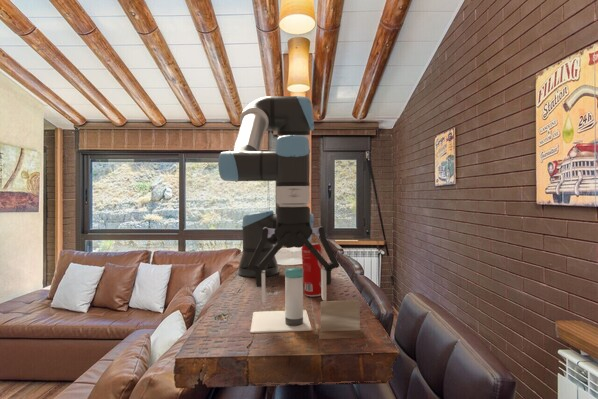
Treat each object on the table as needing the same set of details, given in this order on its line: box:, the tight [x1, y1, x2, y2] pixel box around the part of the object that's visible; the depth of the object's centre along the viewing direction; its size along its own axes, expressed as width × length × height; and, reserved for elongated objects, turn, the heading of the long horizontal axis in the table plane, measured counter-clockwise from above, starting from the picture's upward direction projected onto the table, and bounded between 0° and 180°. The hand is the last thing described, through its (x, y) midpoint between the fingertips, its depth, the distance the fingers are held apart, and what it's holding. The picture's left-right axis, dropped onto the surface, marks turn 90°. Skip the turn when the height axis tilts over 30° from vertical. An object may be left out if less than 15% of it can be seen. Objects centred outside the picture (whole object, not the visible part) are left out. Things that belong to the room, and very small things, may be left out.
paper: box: [250, 309, 313, 334], centre depth 75 cm, size 12×13×1 cm
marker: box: [284, 266, 304, 326], centre depth 74 cm, size 4×4×12 cm
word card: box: [317, 299, 365, 340], centre depth 67 cm, size 3×9×7 cm, turn 95°
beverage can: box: [301, 242, 323, 297], centre depth 96 cm, size 6×6×15 cm
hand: (294, 300), depth 74 cm, fingers open, 13 cm apart
